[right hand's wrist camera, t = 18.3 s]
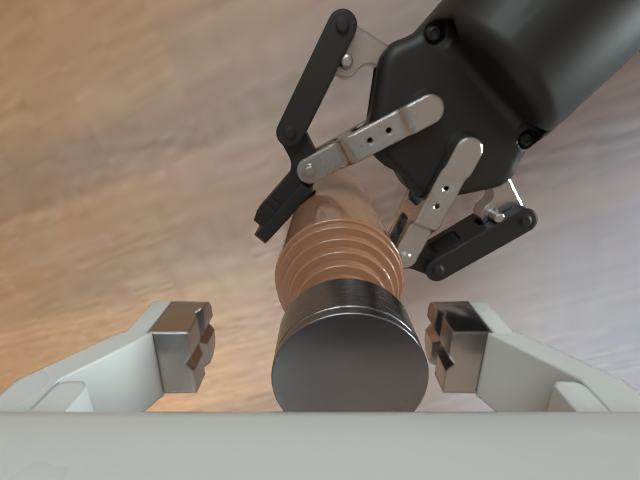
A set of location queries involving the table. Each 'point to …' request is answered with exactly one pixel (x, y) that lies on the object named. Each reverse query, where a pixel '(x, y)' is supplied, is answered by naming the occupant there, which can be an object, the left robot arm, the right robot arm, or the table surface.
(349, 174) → the bottle
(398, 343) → the cap
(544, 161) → the table surface
